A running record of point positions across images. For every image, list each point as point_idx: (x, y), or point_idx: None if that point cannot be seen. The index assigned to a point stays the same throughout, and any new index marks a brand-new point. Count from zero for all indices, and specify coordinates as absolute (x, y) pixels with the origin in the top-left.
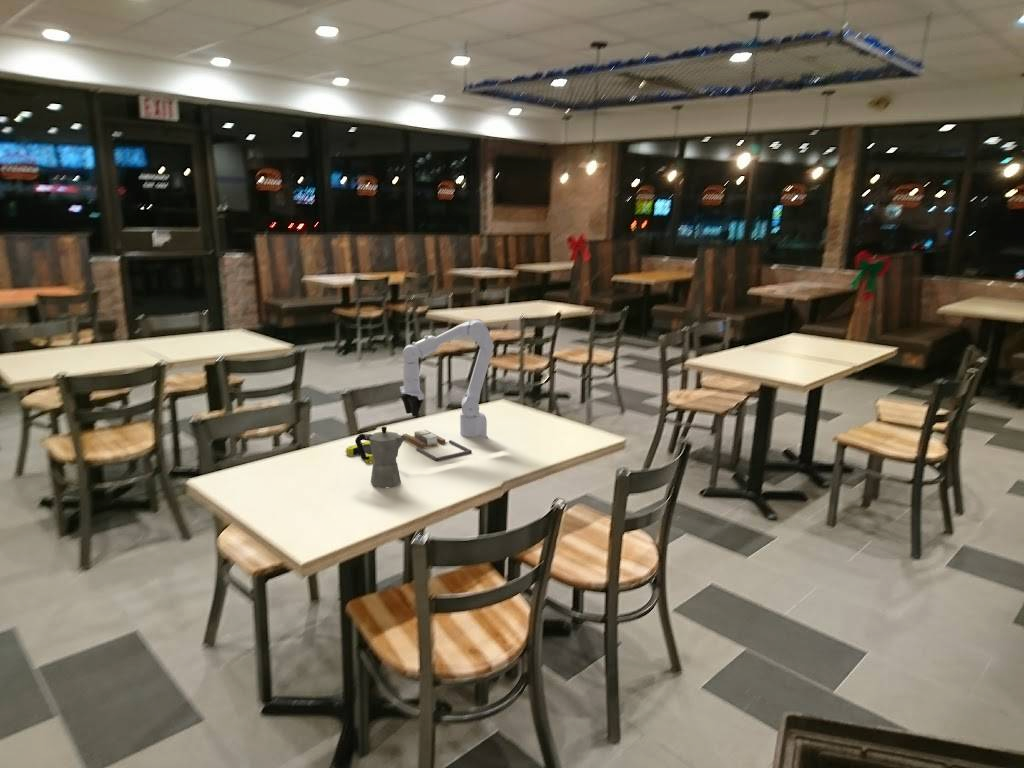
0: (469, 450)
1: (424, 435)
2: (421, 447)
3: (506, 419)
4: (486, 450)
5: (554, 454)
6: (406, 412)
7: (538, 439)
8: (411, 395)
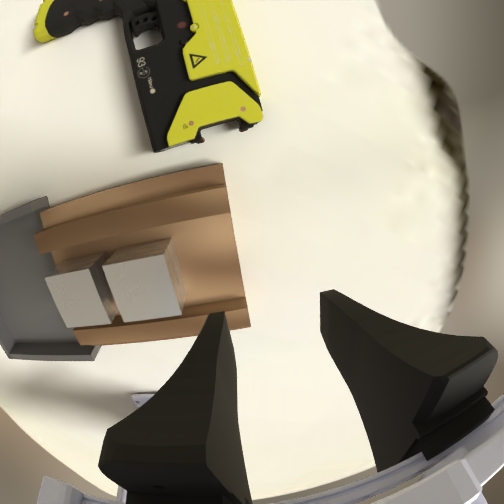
0: (7, 354)
1: (85, 282)
2: (43, 229)
3: (285, 472)
4: (64, 395)
5: (52, 445)
6: (333, 292)
7: None
8: (317, 494)
